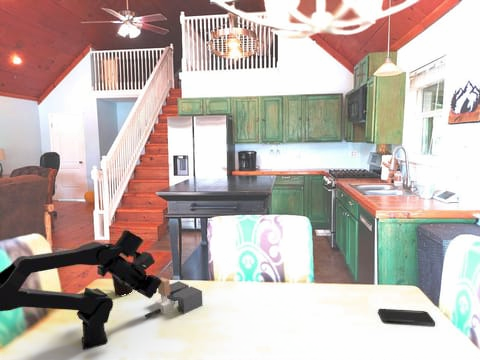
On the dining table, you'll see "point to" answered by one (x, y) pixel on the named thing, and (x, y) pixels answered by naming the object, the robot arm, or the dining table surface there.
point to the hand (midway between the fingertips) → (155, 292)
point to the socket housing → (185, 296)
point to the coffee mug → (120, 287)
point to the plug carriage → (163, 299)
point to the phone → (406, 317)
